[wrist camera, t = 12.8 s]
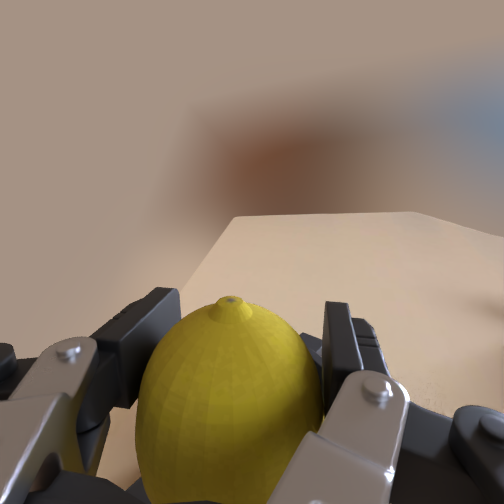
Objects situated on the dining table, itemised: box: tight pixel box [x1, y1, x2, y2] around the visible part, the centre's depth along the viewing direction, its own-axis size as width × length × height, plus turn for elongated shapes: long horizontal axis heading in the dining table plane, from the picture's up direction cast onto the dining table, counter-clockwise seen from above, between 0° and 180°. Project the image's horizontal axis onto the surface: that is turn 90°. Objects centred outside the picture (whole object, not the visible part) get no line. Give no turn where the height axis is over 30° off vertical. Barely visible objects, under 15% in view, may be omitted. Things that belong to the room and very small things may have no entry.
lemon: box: [135, 296, 324, 504], centre depth 9 cm, size 6×6×8 cm
